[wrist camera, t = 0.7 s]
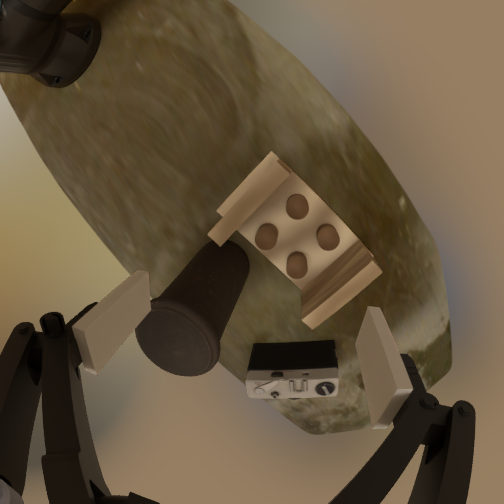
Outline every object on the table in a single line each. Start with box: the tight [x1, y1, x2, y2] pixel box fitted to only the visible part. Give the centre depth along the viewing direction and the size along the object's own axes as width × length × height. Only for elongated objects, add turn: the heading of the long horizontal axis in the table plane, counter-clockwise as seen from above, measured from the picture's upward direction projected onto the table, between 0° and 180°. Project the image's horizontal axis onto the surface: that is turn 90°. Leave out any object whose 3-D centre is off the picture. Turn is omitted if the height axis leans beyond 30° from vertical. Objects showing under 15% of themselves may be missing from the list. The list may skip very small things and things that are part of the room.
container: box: [135, 240, 249, 376], centre depth 33 cm, size 9×9×20 cm
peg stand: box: [207, 151, 382, 330], centre depth 35 cm, size 20×11×9 cm, turn 47°
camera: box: [245, 340, 339, 400], centre depth 42 cm, size 14×9×10 cm, turn 90°
